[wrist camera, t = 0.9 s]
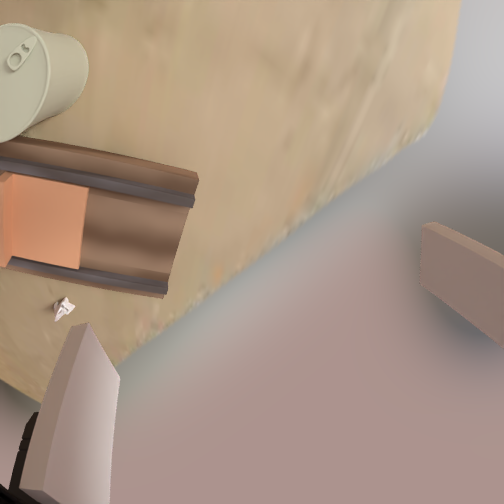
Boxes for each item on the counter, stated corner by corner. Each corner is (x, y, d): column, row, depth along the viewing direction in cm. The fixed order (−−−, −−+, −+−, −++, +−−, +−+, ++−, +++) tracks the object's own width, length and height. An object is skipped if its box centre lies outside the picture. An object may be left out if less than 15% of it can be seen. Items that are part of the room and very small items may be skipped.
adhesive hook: (63, 292, 38) (59, 307, 35) (77, 303, 39) (73, 318, 36) (52, 303, 38) (48, 318, 35) (66, 313, 39) (62, 328, 37)
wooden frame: (6, 134, 24) (-9, 142, 21) (196, 172, 34) (200, 184, 31) (2, 254, 31) (-8, 271, 28) (162, 286, 41) (163, 305, 38)
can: (106, 71, 25) (73, 73, 15) (46, 134, 26) (-4, 170, 17) (55, 17, 20) (5, -1, 10) (-2, 83, 21) (-65, 99, 11)
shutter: (8, 169, 24) (-6, 180, 22) (89, 184, 28) (82, 197, 26) (6, 249, 29) (-4, 265, 26) (79, 264, 33) (74, 282, 30)
